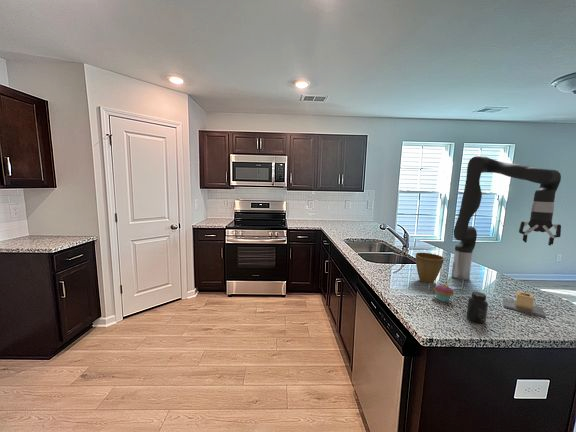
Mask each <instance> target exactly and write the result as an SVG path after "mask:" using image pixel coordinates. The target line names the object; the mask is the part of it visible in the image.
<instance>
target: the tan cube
mask: <svg viewBox="0 0 576 432" xmlns="http://www.w3.org/2000/svg"><path fill="white" fill-rule="evenodd" d="M515 293H516V294H515V300H514V301H515V305H516V307H519V308H523V309H528V310H532V306H533V305H534V299H535V298H534V295H533V293H527V292H525V291H523V292H522V291H517V290H516V292H515Z"/></svg>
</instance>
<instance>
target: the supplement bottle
mask: <svg viewBox="0 0 576 432" xmlns="http://www.w3.org/2000/svg"><path fill="white" fill-rule="evenodd" d="M466 307H467V308H466V314H465V315H466V316H465V317H466V319H467V320H468V321H469V322H471V323H474V324H477V325H485V324H486V322H487V317H488V310H489V303H488V302H487V295H486V294H485V293H483V292H479V291H473V292H471V297H469V298H468V300H467V306H466Z"/></svg>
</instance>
